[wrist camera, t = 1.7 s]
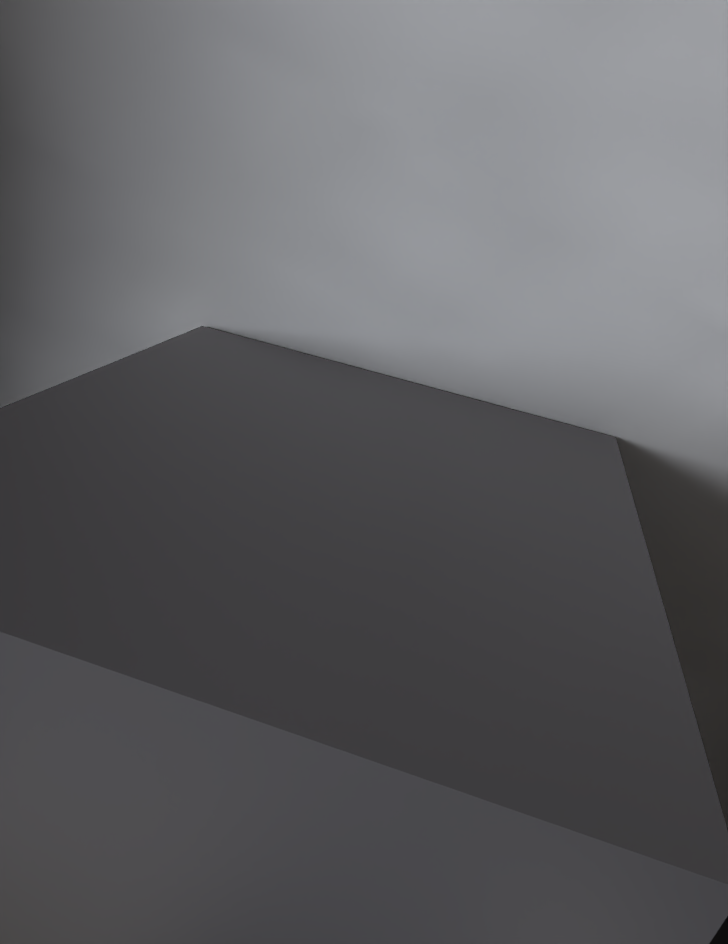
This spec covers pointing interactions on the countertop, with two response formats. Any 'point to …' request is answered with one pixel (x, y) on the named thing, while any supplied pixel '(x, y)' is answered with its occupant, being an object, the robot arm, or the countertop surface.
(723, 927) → the robot arm
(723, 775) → the countertop surface
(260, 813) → the block
